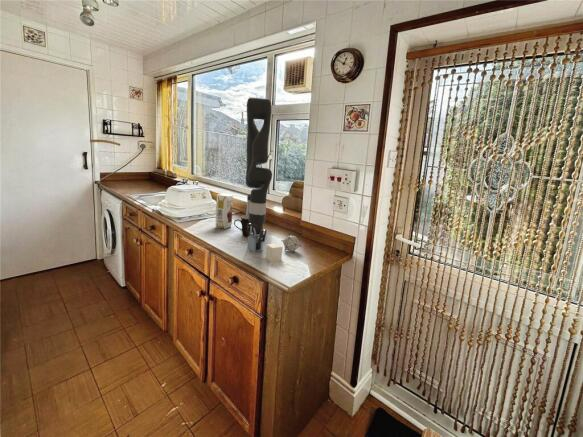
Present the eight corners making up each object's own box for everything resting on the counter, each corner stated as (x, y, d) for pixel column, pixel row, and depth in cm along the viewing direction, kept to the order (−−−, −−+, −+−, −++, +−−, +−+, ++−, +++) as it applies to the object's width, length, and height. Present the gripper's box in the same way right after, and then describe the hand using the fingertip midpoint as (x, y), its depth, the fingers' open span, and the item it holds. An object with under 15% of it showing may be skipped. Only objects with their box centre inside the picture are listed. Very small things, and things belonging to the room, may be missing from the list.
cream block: (265, 257, 129) (266, 244, 128) (274, 256, 132) (276, 243, 131) (271, 261, 125) (272, 248, 124) (281, 260, 128) (282, 246, 127)
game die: (293, 258, 142) (308, 243, 140) (285, 256, 134) (300, 241, 133) (282, 245, 146) (296, 230, 144) (274, 242, 138) (288, 227, 137)
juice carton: (213, 227, 169) (215, 194, 165) (221, 224, 177) (222, 192, 173) (225, 229, 167) (227, 196, 163) (233, 226, 175) (234, 194, 171)
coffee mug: (257, 234, 163) (259, 216, 161) (254, 238, 155) (255, 219, 153) (237, 232, 164) (238, 214, 162) (232, 236, 156) (233, 217, 154)
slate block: (247, 248, 139) (248, 235, 138) (256, 246, 142) (257, 234, 141) (252, 251, 135) (253, 238, 134) (262, 250, 138) (263, 237, 137)
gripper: (242, 209, 138) (240, 244, 142) (258, 216, 127) (255, 253, 131) (256, 208, 143) (254, 242, 146) (273, 215, 132) (270, 251, 135)
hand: (255, 247), depth 138 cm, fingers closed on slate block, 5 cm apart
